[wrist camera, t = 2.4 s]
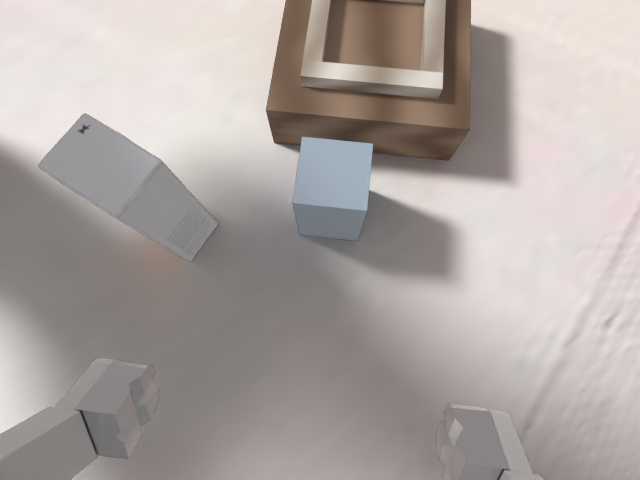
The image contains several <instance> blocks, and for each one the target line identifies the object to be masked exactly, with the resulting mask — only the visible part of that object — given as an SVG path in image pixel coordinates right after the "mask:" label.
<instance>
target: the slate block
mask: <svg viewBox="0 0 640 480" xmlns="http://www.w3.org/2000/svg"><path fill="white" fill-rule="evenodd" d="M372 151H373V144H371V143H361V142H351V141H341V140H331V139H321V138H311V137H302V140H301V147H300V154H299V161H298V167H297V174H296V181H295V188H294V195H293V201H292V204H293V208H294V213H295V217H296V222H297V226H298V230H299V235H306V236H316V237H325V238H334V239H343V240H352V241H358V238H359V235H360V232H361V228H362V225H363V222H364V219H365V216H366V213H367V207H368V196H369V185H370V173H371V162H372Z"/></svg>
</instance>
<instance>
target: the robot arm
mask: <svg viewBox="0 0 640 480" xmlns="http://www.w3.org/2000/svg"><path fill="white" fill-rule="evenodd" d="M154 376H155V370H154V366H151V365H145V364H139V363H133V362H126V361H120V360H113V359H106V358H98V359H96V360H94V361H93V362H92V363H91V364H90V365H89V367H88V368H87V369H86V370H85V371H84V373H83V374H82V375H81V376H80V377H79V379H78V380H77V381H76V382H75V383H74V385H73V386H72V387H71V388H70V389H69V391H68V392H67V393H66V394H65V395H64V397H63V398H62V399H61V400H60V401H59V403H58V404H57V405H56V406H55V407H48V408H46V409H44V410H43V411H41V412H39V413H37V414H35V415H34V416H32V417H30V418H28V419H27V420H25V421H23V422H21V423H19V424H18V425H16V426H14V427H12V428H10V429H9V430H7V431H5V432H3V433H2V434H0V480H70V479H71V478H73V477H74V476H75V475H76V474H78V473H79V472H80V471H81V470H82V469H84V468H85V467H86V466H87V465H88V464H90V463H91V462H92V461H93V460H95V459H96V458H97V455H99V456H107V457H116V458H125V459H129V457H130V455H131V454H132V452H133V450H134V448H135V446H136V445H137V443H138V441H139V439H140V437H141V436H142V433H141V426H142V425H144V424H145V423H146V422H148V421H149V420H150V419H151V417H152V416H153V414H154V412H155V410H156V406H157V403H158V400H159V388H158V385H157V384H156V383H155V382H154V381H153V380H152V379H153V378H154ZM444 416H445V420H444V421H442V422H440V424H439V427H438V431H437V452H438V458H439V461H440V462H441V463H442V465H443V466H444V467H445V471H444V474H443V476H442V480H544V479H543V478H542V477H541V476H540V475H537V474H533V472H532V469H531V467H530V464H529V462H528V459H527V457H526V454H525V451H524V449H523V446H522V444H521V441H520V439H519V436H518V434H517V431H516V429H515V426H514V424H513V421H512V419H511V416H510V414H509V413H508V412H507V411H503V410H496V409H488V408H487V409H486V408H483V407H475V406H466V405H457V404H448V405H447V406H446V407H445V410H444Z"/></svg>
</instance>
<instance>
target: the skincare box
mask: <svg viewBox="0 0 640 480" xmlns="http://www.w3.org/2000/svg"><path fill="white" fill-rule="evenodd" d="M38 168H40V169H41V170H42V171H44V172H45V173H47V174H48V175H50V176H51V177H52V178H54V179H55V180H57V181H58V182H60V183H61V184H63V185H64V186H66V187H67V188H69V189H70V190H72V191H73V192H75V193H77V194H78V195H80V196H81V197H83V198H85V199H86V200H88V201H89V202H91V203H92V204H94V205H95V206H97V207H99V208H100V209H102V210H103V211H105V212H107V213H108V214H110V215H111V216H113V217H115V218H116V219H118V220H120V221H121V222H123V223H125V224H126V225H128V226H129V227H131V228H133V229H134V230H136V231H138V232H139V233H141V234H143V235H144V236H146V237H148V238H149V239H151V240H153V241H155V242H156V243H158V244H160V245H161V246H163V247H165V248H166V249H168V250H170V251H171V252H173V253H175V254H176V255H178V256H180V257H182V258H183V259H185V260H187V261H188V262H190V261H191V260H192V259H193V258H194V257H195V255H196V254H197V252H198V251H199V250H200V248H201V247H202V245H203V244H204V243H205V241H206V240H207V239H208V237H209V236H210V235H211V233H212V232H213V231H214V229H215V228H216V227H217V225H218V223H217V221H216V220H215V219H214V218H213V217H212V216H211V215H210V214H209V213H208V212H207V210H206V209H205V208H204V207H203V206H202V205H201V204H200V203H199V201H198V200H197V199H196V198H195V197H194V196H193V195H192V194H191V192H190V191H189V190H188V189H187V188H186V187H185V186H184V185H183V184H182V182H181V181H180V180H179V179H178V178H177V177H176V176H175V175H174V174H173V173H172V171H171V170H170V169H169V168H168V167H167V166H166V165H165V164H164V163H163V161H162V160H160V159H159V158H157V157H156V156H154V155H152V154H151V153H149V152H147V151H146V150H144V149H143V148H141V147H140V146H138V145H136V144H135V143H133V142H132V141H130V140H129V139H128V138H126V137H125V136H123V135H122V134H120V133H118V132H116V131H114V130H113V129H111V128H109V127H108V126H106V125H104V124H103V123H101V122H100V121H98V120H96V119H94V118H93V117H91V116H89V115H88V114H83V115H82V116H81V117H80V118H79V119H78V120H77V121H76V123H75V124H74V125H73V126H72V127H71V128H70V129H69V130H68V132H67V133H66V134H65V135H64V136H63V137H62V138H61V139H60V140H59V141H58V143H57V144H56V145H55V146H54V147H53V148H52V149H51V150H50V151H49V152H48V154H47V155H46V156H45V157H44V158H43V160H42V161H41V162H40V163H39V165H38Z"/></svg>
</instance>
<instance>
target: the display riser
mask: <svg viewBox="0 0 640 480" xmlns="http://www.w3.org/2000/svg"><path fill="white" fill-rule="evenodd" d="M470 38H471V0H286V2H285V8H284V13H283V19H282V24H281V30H280V35H279V41H278V46H277V52H276V57H275V63H274V68H273V74H272V79H271V85H270V90H269V96H268V101H267V107H266V112H267V116H268V120H269V124H270V128H271V132H272V136H273V140H274V143H282V144H292V145H301V140H302V137H311V138H321V139H331V140H341V141H351V142H361V143H371V144H373V151H372V153H381V154H391V155H401V156H411V157H421V158H431V159H441V160H449V159H450V158H451V156H452V155H453V153H454V152H455V150H456V149H457V147H458V146H459V144H460V143H461V141H462V140H463V138H464V137H465V135H466V134H467V132H468V131H469V116H470Z"/></svg>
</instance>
